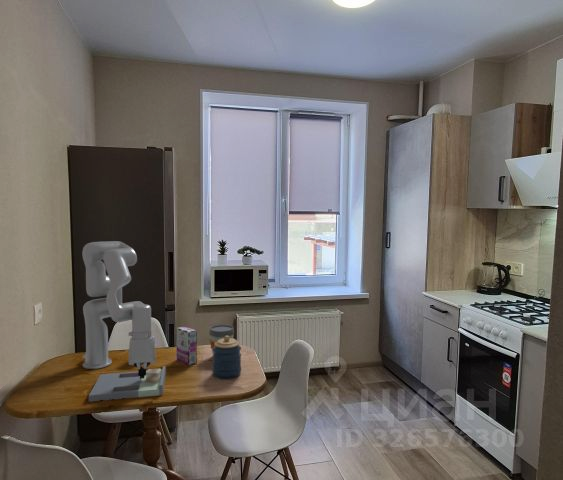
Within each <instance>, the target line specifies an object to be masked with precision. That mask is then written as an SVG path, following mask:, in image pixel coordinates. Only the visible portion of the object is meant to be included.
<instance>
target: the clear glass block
mask: <svg viewBox="0 0 563 480" xmlns="http://www.w3.org/2000/svg"><path fill="white" fill-rule="evenodd" d="M161 370H162V369H161V368H148V369H147V370H146V371H147V373H146V383H159V381H160V378H161Z"/></svg>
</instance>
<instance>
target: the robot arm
mask: <svg viewBox="0 0 563 480" xmlns="http://www.w3.org/2000/svg"><path fill="white" fill-rule="evenodd" d="M82 260H83V263H84V266H85V289H86V294H87V296H89V297H91V298H96V297H100V298H96V299H91V300H89V301H87V302H85V303H84V305H83V307H82V312H83V317H84V325H85V353H84V355H82V357H81V358H82V359H85V361H84V362H83V363H82V367H83V368H84V369H87V370H96V369H97V370H98V369H104V368H105V367H108V366H110V365H111V364H112V362H113V361H112V358H110V357H109V334H108V333H109V332H108V331H109V330H108V325H107V324H106V322H105V321H104V320H103V319H107V318H111V320H112V321H114V322H115V323H123V322H127V321H128V322H129V321H131V328H132V329H131V331H130V332H128V336H129V337H131V338H130V339H129V346H128V347H129V348H128V365H130V366H134V367H135V368H137V370H138V371H137V372H138V376H140V379H141V378H144V377H145V376H146V371H147V368H148V367H149V366H150V365H151V364H155V363H156V361H157V360H156V345H155V346H154V339H153V336H154V335H152V307H151V305H149V304H145V303H143V302H142V301H139V300H137V301H136V300H135V301H129V302H124V303H123V287H125V286H126V285H128V284H129V283H130V282H131V281H132V276H131V273H130V271H129V268H128V267H132V266H135V264H137V262H138V257H137V253H136V251H135V250H134V248H133V247H131V246H130V245H128V244H126V243H124V242H122V241H117V240H116V241H115V240H113V241H112V240H111V241H92V242H89V243H86V244H85V245H84V246H83V248H82ZM102 260H103V261H102ZM106 272H107V273H106ZM107 274H108V275H107ZM105 296H106V297H105ZM101 297H103V298H101ZM142 364H143V366H142Z"/></svg>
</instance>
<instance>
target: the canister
mask: <svg viewBox="0 0 563 480" xmlns="http://www.w3.org/2000/svg"><path fill="white" fill-rule="evenodd" d="M233 338H234V337H233ZM233 338H230V337H229V336H225V337H224V338H223V339H219V340H218V341H217V342H215V343H214V345H215V346H214V347H213V349H211V351H212V350H213V351H214V354H213V353H212V356H211V357H212V375H213V376H214V377H215V378H217V379H222V380H229V379H234V378H237V377H238V376H240V375H241V371H242V365H241V364H242V363H241V361H242V353H241V350H242V347H241V345H240V342H239V341H238V340H237V339H235V338H234V339H233Z"/></svg>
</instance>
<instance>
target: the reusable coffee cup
mask: <svg viewBox="0 0 563 480" xmlns="http://www.w3.org/2000/svg"><path fill="white" fill-rule="evenodd" d="M234 334H235V329H234V326H232V325H231V324H217V325H213V326H210V328H209V335H210V336H209V337H210V339H209V343H210V349H211V352H212V355H213V354H214V351H213V350H212V349H213V347H214V346H215V345H214V343H215V342H217V341H218V340H219V339H223V338H224V337H225V336H229V337H230V338H233V339H235V338H234Z"/></svg>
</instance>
